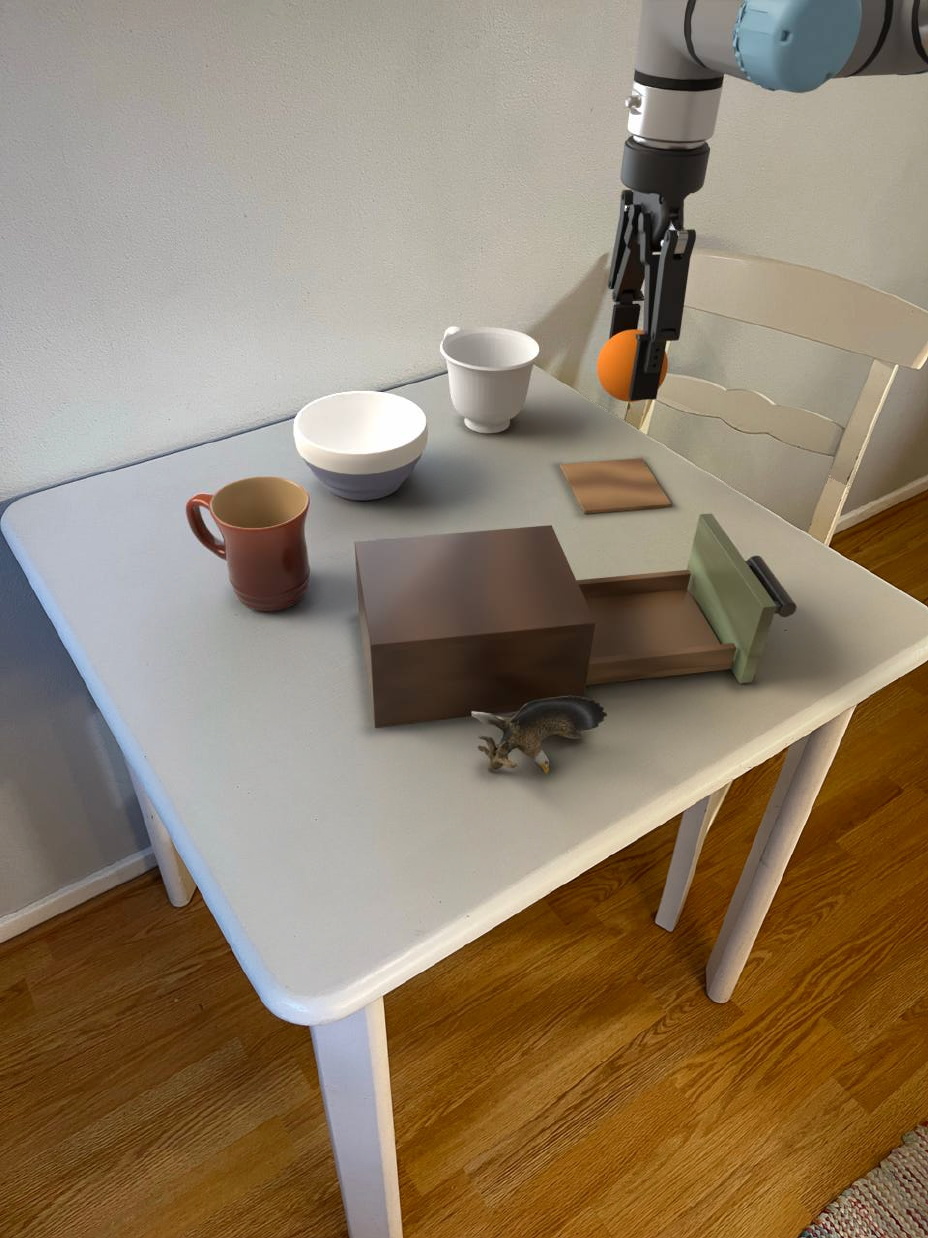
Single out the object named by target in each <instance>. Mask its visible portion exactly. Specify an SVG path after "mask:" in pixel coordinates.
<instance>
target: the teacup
mask: <svg viewBox="0 0 928 1238" xmlns="http://www.w3.org/2000/svg"><path fill="white" fill-rule="evenodd" d="M439 351H440V353H441V355H442V357H444V358H445V361H446V367H447V368H446V369H447V376H448V383H449V392H450V398H451V403H452V406H453V408H454V409H455V411H456V412H457V413H458V414H459V415H460V416H462V417H463V418H464V421H463V422H464V425H465V426H466V428H468V429H469V430H470V431H472V432H476V433H480V434H497V433H501V432H503V431H505V430H507V429H508V428H509V427H510V423H511V421H510V420H512V419H514V418H515V417H516V416H518V414H519V413H520V412H521V411H522V410H523V408H524V406H525V403H526V399H527V396H528V391H529V387H530V383H531V382H530V381H531V375H532V371H533V367H534V364H535V362H536V361H537V360H538V359H539V358H540V356H541V354H542V349H541V347H540V345H539V343H538V342H537V341H536V340H535V339H534V338H533V337H531V336H529V335H528V334H525V333H524V332H520V331H517V330H513V329H509V328H503V327H491V326H490V327H489V326H483V327H482V326H481V327H480V326H479V327H470V328H465V329H462V328H460V327H458V326H454V325H453V326H449V327H448V328H446V330H445V332H444V335H443V340H442V341H441V343H440V346H439Z"/></svg>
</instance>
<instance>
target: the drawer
mask: <svg viewBox="0 0 928 1238" xmlns="http://www.w3.org/2000/svg"><path fill="white" fill-rule="evenodd" d="M576 581H577V583H578V585H579V587H580V589H581V592H582V594H583V596H584V598H585V601H586V603H587V605H588V607H589V609H590V612H591V614H592V616H593V618H594V620H595V630H594V636H593V642H592V648H591V655H590V661H589V667H588V674H587V680H586V686H591V685H600V684H610V683H619V682H628V681H634V680H635V681H636V680H645V679H652V678H653V679H654V678H662V677H671V676H672V677H673V676H679V675H688V674H698V673H707V672H717V671H724V670H731V672H732V673H733V675H734V677H735V679H736V680H737V682H738V684H747V683H749V684H750V683H752V682H753V680H754V677H755V674H756V671H757V668H758V665H759V662H760V659H761V656H762V653H763V649H764V646H765V644H766V640H767V637H768V634H769V631H770V628H771V625H772V622H773V619H774V616H775V615H779V616H780V617H782V618H788V617H790V616H792V615H793V614H794V613H796V611H797V608H798V607H797V604H796V602H794V600H793V599H792V597H791V596H790V594H788V592H787V590H786V589H785V587H784V586H783V585H782V584H781V582H780V581H779V580H778V578H777V577H776V575H775V574H774V573H773V571H772V570H771V569H770V567H769V565H768V564H767V563H766V562H765V561H764V559H763V557H762V556H760V555H753V556H751V557H749V558H748V559H747V560H745V559H744V557H743V556H742V554H741V553H740V551H739V550H738V549H737V547H736V546H735V545H734V543H733V541H732V540H731V539H730V537H729V536H728V533H726V531H725V530H724V529H723V527H722V526H721V524H720V523H719V522H718V520H717V519H716V517H715V516H714V514H713V513H711V512H710V513H700V514H699V516H698V520H697V524H696V529H695V534H694V538H693V542H692V546H691V551H690V555H689V558H688V563H687V568H686V569H681V570H670V571H659V572H649V573H637V574H627V575H626V574H625V575H618V576H615V575H614V576H605V577H594V578H584V579H576Z"/></svg>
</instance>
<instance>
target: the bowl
mask: <svg viewBox="0 0 928 1238" xmlns="http://www.w3.org/2000/svg"><path fill="white" fill-rule="evenodd" d="M428 427H429V425H428V418H427V417H426V414H425V412H424V411H423V410H422V408H420V406H418V405H417V404H416V403H414V402H413V401H411V400H409V399H407V398H405V397H402V396H399V395H396V394H393V393H388V392H387V393H386V392H381V391H373V390H372V391H371V390H357V391H356V390H355V391H354V390H353V391H344V392H339V393H334V394H329V395H326V396H323V397H320V398H318V399H315V400H313V401H311V402H310V403H308V404H306V405H305V406H304V407H303V408H301V410H299V412H298V413H297V415H296V416H295V417H294V422H293V437H294V442H295V447H296V451H297V453H298V454H299V455H300V457H301V458H302V460H303V461H304V463H305V465H306V466H307V467H309V469H310V470H311V472H312V473H313V475H314V476H315V477H316V478H317V479H318V480H319V481H321V482H322V483H323V484H324V486H325V487H326V488H327V490H329V491H330V492H331V493H332V494H333V495H336V496H338V497H339V498H342V499H347V500H352V501H373V500H378V499H383V498H384V497H388V496H390V495H392V494H393V493H395V492H396V491H398V490H399V488H400V487H401V486H402V484H403V482H404V480H406V479H407V478H408V477H409V476H410V475H411V473H412V472H413V470H414V469H415V466H416V465H417V463H418V462H419V461H420V460H421V457H422V455H423V453H424V451H425V450H426V447H427V445H428V437H429V428H428Z"/></svg>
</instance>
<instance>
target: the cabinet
mask: <svg viewBox="0 0 928 1238" xmlns="http://www.w3.org/2000/svg"><path fill="white" fill-rule="evenodd" d="M353 544H354V546H353V547H354V559H355V576H356V590H357V591H356V592H357V606H358V621H359V628H360V629H359V630H360V636H361V642H362V650H363V655H364V656H363V657H364V663H365V669H366V677H367V684H368V690H369V698H370V704H371V712H372V718H373V724H374V728H383V727H393V726H401V725H408V724H410V725H411V724H417V723H425V722H434V721H435V722H436V721H443V720H453V719H460V718H469V717H473V716H472V713H471V712H472V711H474V712H483V713H490V714H492V715H496V714H505V713H512V712H513V713H514V712H518V711H519V710H520V709H521V708H522V707H523V706H524V705H525V704H526V703H529V702H531V701H535V700H541V699H545V698H554V697H560V696H569V695H571V696H577V697H583V698H585V692H586V686H587V685H586V680H587V674H588V667H589V661H590V655H591V648H592V642H593V636H594V630H595V620H594V618H593V616H592V614H591V612H590V609H589V607H588V605H587V603H586V601H585V598H584V596H583V594H582V592H581V589H580V587H579V585H578V583H577V581H576V580H577V577H576V576H575V574H574V572H573V569H572V567H571V565H570V563H569V561H568V558H567V557H566V554H565V552H564V550H563V548H562V546H561V543H560V540H559V539H558V536H557V534H556V532H555V530H554V528H553V526H552V524H550V525H549V524H548V525H537V526H535V525H534V526H525V527H514V528H501V529H489V530H478V531H465V532H453V533H440V534H429V535H418V536H417V535H416V536H404V537H394V538H393V537H392V538H383V539H382V538H380V539H368V540H357V541H356V540H355V541H354V542H353Z"/></svg>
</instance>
